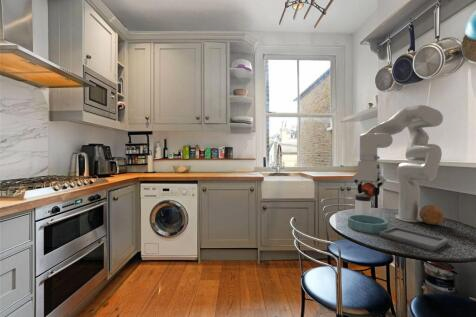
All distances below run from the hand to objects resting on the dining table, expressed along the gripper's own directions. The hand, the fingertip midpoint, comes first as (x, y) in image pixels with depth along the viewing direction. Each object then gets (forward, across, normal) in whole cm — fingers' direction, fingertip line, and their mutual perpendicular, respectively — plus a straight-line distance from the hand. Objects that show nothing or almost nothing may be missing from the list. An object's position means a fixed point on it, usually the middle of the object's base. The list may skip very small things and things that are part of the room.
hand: (368, 193), depth 121 cm
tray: (+17, -20, +2) cm, 26 cm away
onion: (+18, -16, -31) cm, 39 cm away
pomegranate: (+2, 0, 0) cm, 2 cm away
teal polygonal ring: (+17, 0, +1) cm, 17 cm away
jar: (+17, +13, -18) cm, 28 cm away
